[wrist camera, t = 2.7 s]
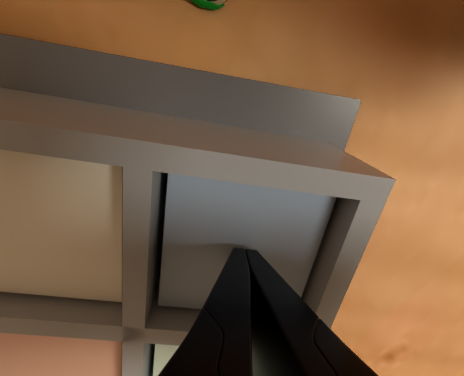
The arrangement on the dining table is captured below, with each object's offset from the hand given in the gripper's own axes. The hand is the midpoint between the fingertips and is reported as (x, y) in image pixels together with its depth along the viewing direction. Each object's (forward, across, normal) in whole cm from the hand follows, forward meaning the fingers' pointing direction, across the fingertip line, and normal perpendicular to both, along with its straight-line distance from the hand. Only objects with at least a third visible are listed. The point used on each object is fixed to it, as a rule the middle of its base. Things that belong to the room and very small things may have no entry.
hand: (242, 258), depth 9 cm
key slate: (+4, 0, 0) cm, 4 cm away
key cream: (+4, +7, 0) cm, 8 cm away
